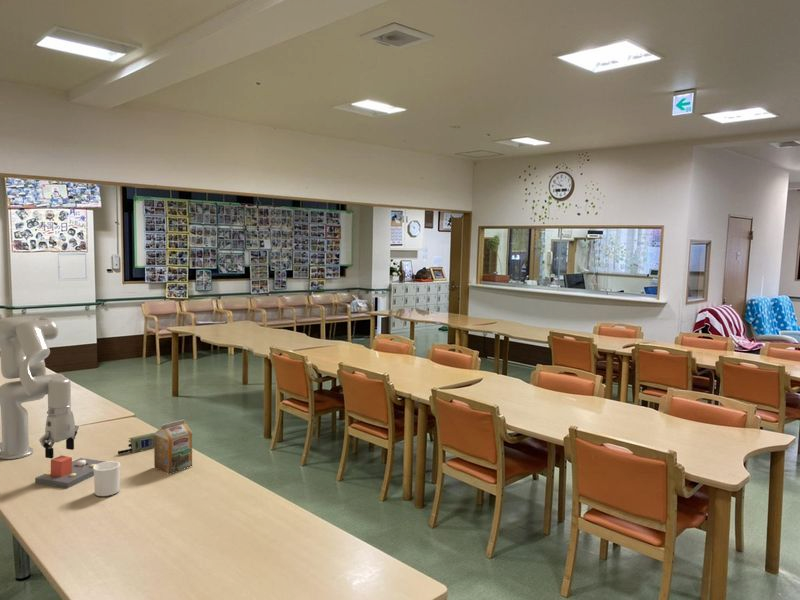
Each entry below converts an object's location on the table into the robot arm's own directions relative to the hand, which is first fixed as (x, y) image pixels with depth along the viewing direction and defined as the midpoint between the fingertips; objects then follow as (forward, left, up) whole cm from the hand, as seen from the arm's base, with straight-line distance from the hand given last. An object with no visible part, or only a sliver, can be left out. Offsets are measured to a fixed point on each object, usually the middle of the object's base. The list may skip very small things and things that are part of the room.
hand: (60, 453), depth 222 cm
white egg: (+1, +10, -9) cm, 13 cm away
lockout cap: (+1, 0, -8) cm, 8 cm away
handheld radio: (+9, +39, -11) cm, 41 cm away
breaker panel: (+2, +5, -10) cm, 11 cm away
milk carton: (+33, +24, -10) cm, 42 cm away
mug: (+26, -4, -10) cm, 28 cm away
